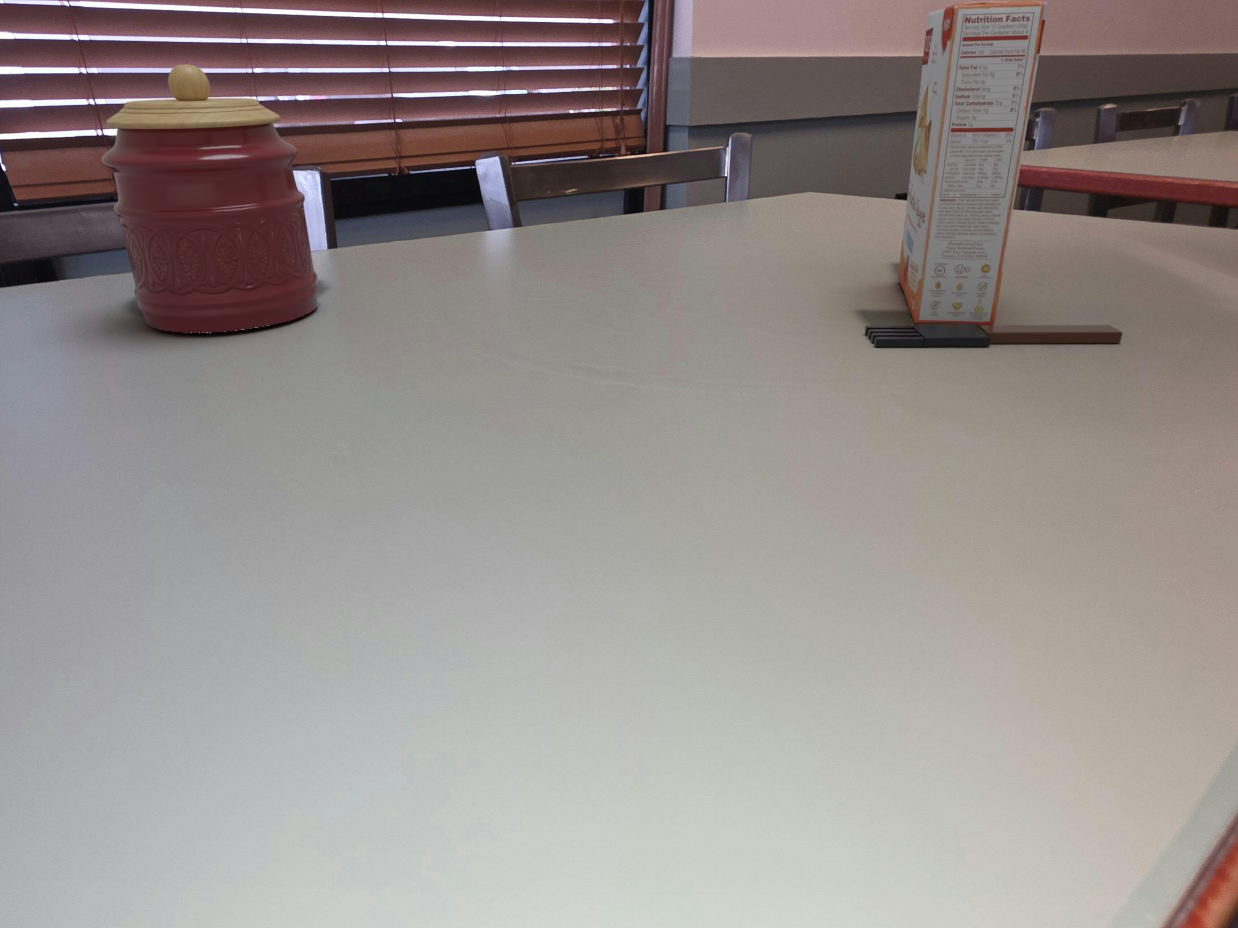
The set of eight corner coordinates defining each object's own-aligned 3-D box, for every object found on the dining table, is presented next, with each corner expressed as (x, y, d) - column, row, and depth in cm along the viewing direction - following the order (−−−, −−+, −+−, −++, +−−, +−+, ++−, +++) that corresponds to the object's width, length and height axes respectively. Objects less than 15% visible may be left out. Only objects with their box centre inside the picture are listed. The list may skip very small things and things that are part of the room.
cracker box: (892, 281, 75) (925, 9, 66) (965, 283, 74) (1009, 8, 65) (907, 325, 63) (950, -1, 54) (995, 329, 62) (1054, -4, 53)
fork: (1102, 333, 61) (1105, 321, 60) (1125, 346, 58) (1128, 335, 57) (864, 333, 61) (865, 322, 61) (875, 347, 58) (876, 335, 58)
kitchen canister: (263, 342, 61) (210, 64, 53) (101, 332, 63) (30, 66, 56) (351, 296, 72) (318, 63, 65) (212, 290, 75) (164, 64, 67)
